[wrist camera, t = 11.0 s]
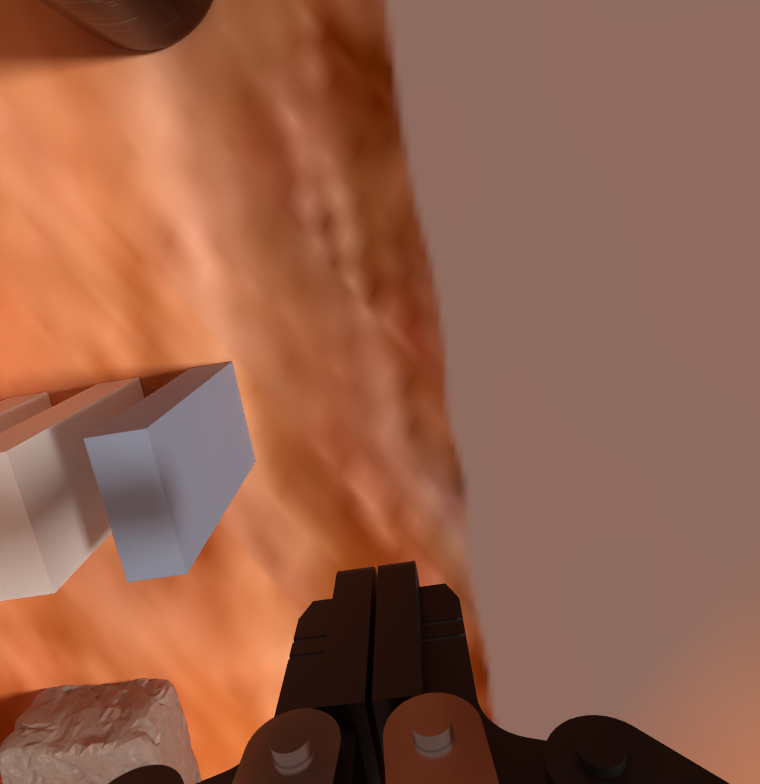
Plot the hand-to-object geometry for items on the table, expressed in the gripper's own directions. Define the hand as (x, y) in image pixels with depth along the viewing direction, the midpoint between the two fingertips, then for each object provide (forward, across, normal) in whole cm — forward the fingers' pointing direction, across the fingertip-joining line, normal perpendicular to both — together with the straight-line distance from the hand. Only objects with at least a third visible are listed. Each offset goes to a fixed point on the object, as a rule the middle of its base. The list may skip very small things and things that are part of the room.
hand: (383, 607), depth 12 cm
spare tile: (+17, +8, 0) cm, 19 cm away
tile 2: (+17, +12, 0) cm, 21 cm away
